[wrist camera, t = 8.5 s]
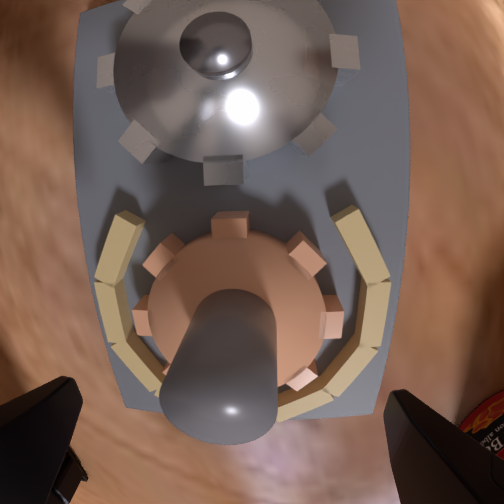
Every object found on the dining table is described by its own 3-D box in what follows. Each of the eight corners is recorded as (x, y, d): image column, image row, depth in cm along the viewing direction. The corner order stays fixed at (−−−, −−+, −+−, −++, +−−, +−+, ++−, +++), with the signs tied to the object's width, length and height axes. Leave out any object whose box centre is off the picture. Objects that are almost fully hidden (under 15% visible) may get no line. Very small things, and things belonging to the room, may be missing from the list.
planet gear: (161, 378, 15) (121, 468, 9) (133, 215, 12) (44, 262, 7) (327, 381, 14) (347, 481, 9) (341, 210, 12) (399, 259, 6)
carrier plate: (132, 394, 17) (119, 418, 15) (92, 20, 11) (69, 6, 9) (367, 399, 16) (376, 426, 14) (385, 0, 10) (401, -20, 8)
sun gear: (129, 185, 12) (84, 197, 9) (131, 0, 10) (95, -33, 6) (345, 178, 12) (373, 188, 8) (332, -16, 9) (349, -60, 6)
